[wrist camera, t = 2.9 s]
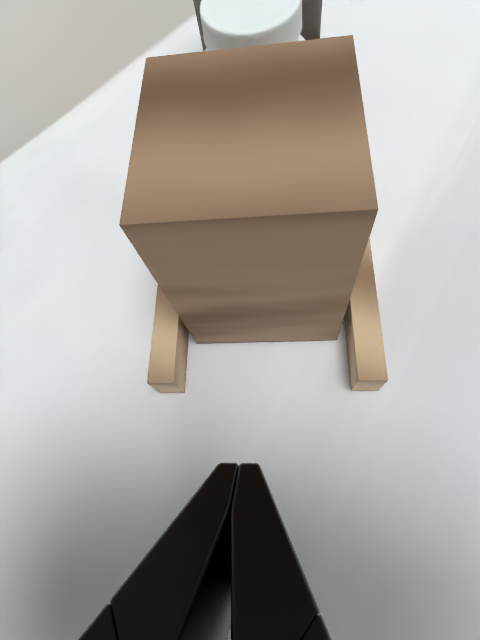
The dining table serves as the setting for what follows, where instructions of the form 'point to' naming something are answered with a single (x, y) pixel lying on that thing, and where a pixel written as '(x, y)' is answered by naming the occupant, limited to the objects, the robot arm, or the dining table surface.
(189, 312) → the block
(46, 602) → the dining table surface
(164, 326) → the channel
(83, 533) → the dining table surface
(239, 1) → the supplement bottle
